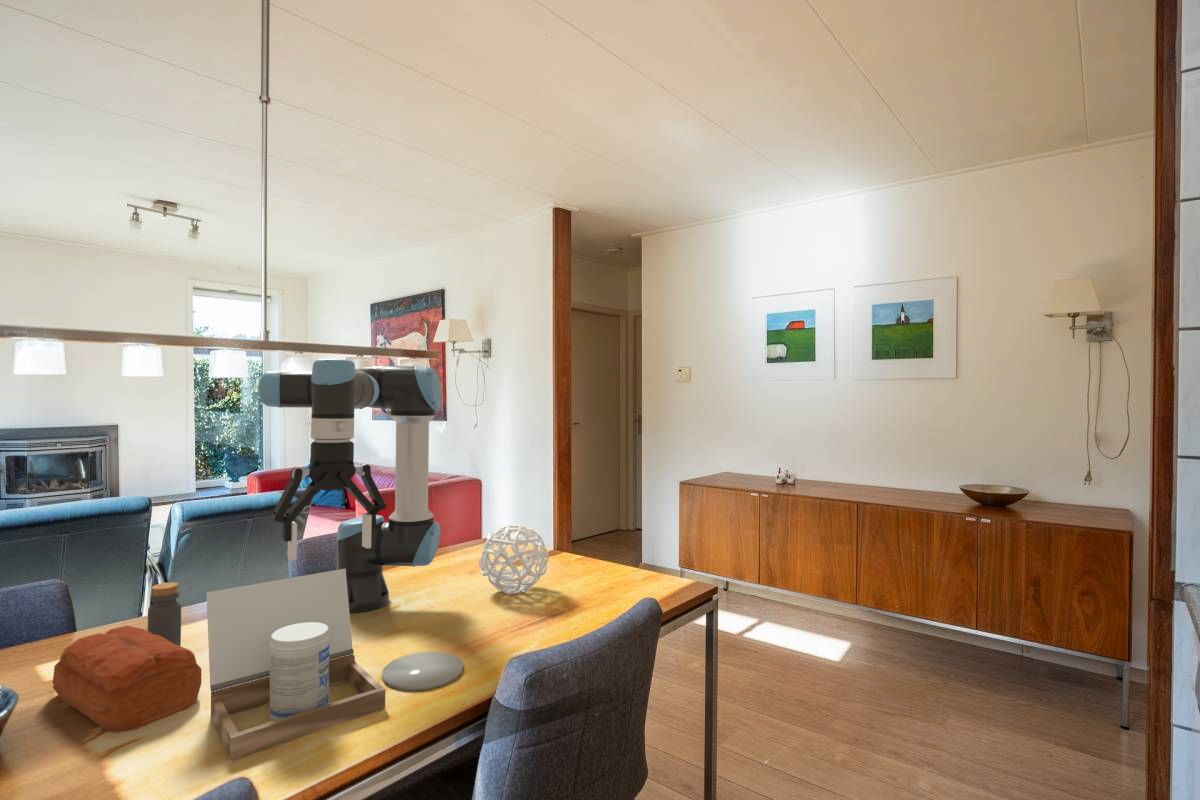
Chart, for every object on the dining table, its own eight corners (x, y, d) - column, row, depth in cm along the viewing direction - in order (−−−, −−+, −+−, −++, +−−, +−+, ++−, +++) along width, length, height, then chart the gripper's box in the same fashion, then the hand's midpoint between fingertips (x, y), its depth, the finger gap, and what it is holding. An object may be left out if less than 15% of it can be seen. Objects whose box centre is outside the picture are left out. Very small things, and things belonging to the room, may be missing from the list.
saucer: (369, 669, 125) (369, 665, 125) (440, 649, 136) (440, 645, 136) (402, 699, 113) (402, 695, 113) (477, 674, 124) (477, 670, 124)
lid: (211, 691, 105) (209, 690, 107) (353, 653, 122) (349, 653, 123) (207, 592, 109) (205, 592, 111) (346, 568, 125) (342, 569, 127)
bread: (108, 741, 99) (109, 676, 98) (45, 697, 112) (46, 640, 112) (210, 701, 112) (210, 644, 112) (142, 665, 126) (143, 615, 126)
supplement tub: (333, 718, 106) (334, 634, 106) (271, 734, 101) (273, 646, 101) (323, 694, 114) (324, 617, 114) (266, 708, 109) (267, 627, 109)
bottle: (144, 662, 127) (145, 591, 126) (150, 651, 132) (151, 583, 132) (178, 657, 129) (179, 587, 129) (182, 647, 134) (183, 579, 134)
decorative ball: (560, 595, 174) (561, 529, 174) (496, 608, 163) (497, 537, 162) (528, 577, 190) (529, 516, 190) (468, 588, 179) (469, 523, 179)
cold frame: (210, 717, 106) (210, 692, 106) (352, 676, 122) (352, 654, 122) (230, 760, 94) (230, 731, 94) (385, 708, 110) (385, 683, 110)
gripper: (265, 444, 103) (262, 568, 103) (404, 439, 120) (402, 546, 120) (253, 441, 109) (251, 559, 109) (388, 437, 126) (386, 539, 126)
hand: (330, 552), depth 115 cm, fingers open, 13 cm apart
